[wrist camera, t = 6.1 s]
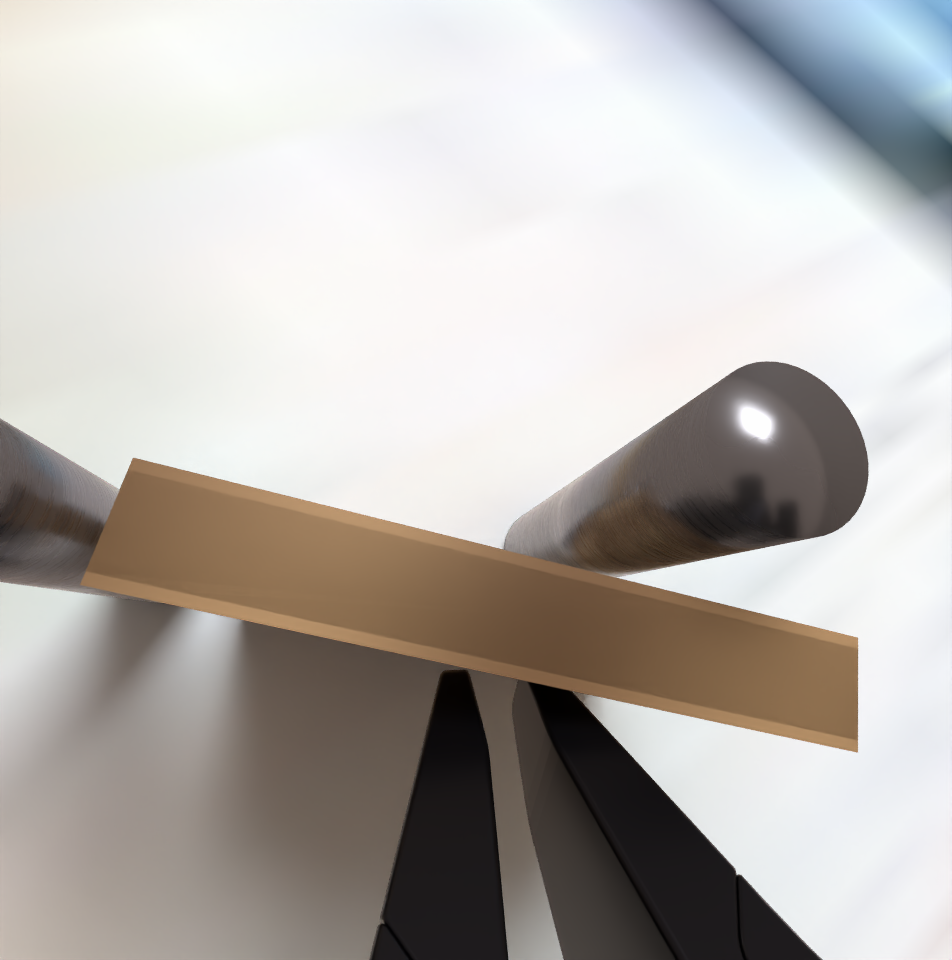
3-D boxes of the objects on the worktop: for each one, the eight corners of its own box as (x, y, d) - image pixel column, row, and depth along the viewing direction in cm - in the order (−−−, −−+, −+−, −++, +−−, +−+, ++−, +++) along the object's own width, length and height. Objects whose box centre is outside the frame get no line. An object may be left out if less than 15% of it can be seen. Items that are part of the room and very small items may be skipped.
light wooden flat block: (237, 610, 14) (80, 584, 6) (256, 552, 15) (133, 457, 6) (596, 688, 15) (857, 752, 7) (604, 634, 16) (858, 638, 8)
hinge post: (222, 558, 15) (-11, 429, 5) (164, 619, 14) (-221, 597, 5) (164, 510, 15) (-173, 298, 5) (102, 569, 14) (-403, 448, 5)
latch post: (595, 544, 17) (893, 439, 8) (552, 607, 16) (825, 577, 7) (534, 495, 17) (756, 327, 8) (488, 556, 16) (672, 454, 7)
